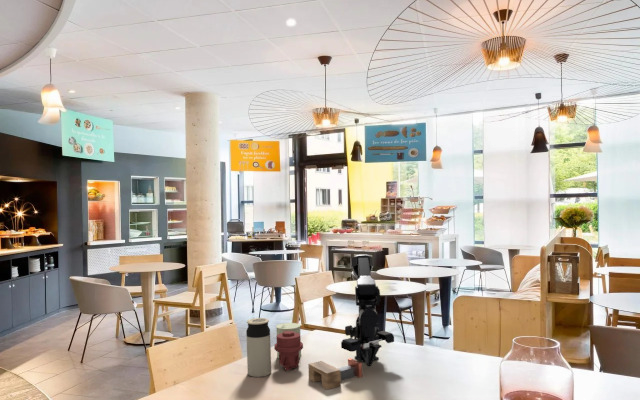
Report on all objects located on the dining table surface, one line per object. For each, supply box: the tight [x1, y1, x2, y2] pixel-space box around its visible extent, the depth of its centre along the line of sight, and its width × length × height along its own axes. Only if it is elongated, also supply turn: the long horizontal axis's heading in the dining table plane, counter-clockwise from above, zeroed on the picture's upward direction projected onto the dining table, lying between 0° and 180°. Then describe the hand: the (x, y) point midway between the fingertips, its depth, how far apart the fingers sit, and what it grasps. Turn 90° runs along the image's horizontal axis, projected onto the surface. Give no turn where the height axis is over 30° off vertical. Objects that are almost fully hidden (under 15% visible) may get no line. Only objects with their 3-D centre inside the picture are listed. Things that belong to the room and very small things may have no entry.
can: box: [275, 322, 302, 360], centre depth 185 cm, size 9×9×12 cm
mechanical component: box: [273, 331, 304, 372], centre depth 173 cm, size 12×10×10 cm
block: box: [307, 360, 342, 390], centre depth 158 cm, size 5×11×5 cm, turn 32°
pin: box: [336, 358, 363, 381], centre depth 162 cm, size 8×6×5 cm
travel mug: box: [245, 317, 272, 378], centre depth 168 cm, size 8×8×18 cm
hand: (368, 366), depth 167 cm, fingers closed
